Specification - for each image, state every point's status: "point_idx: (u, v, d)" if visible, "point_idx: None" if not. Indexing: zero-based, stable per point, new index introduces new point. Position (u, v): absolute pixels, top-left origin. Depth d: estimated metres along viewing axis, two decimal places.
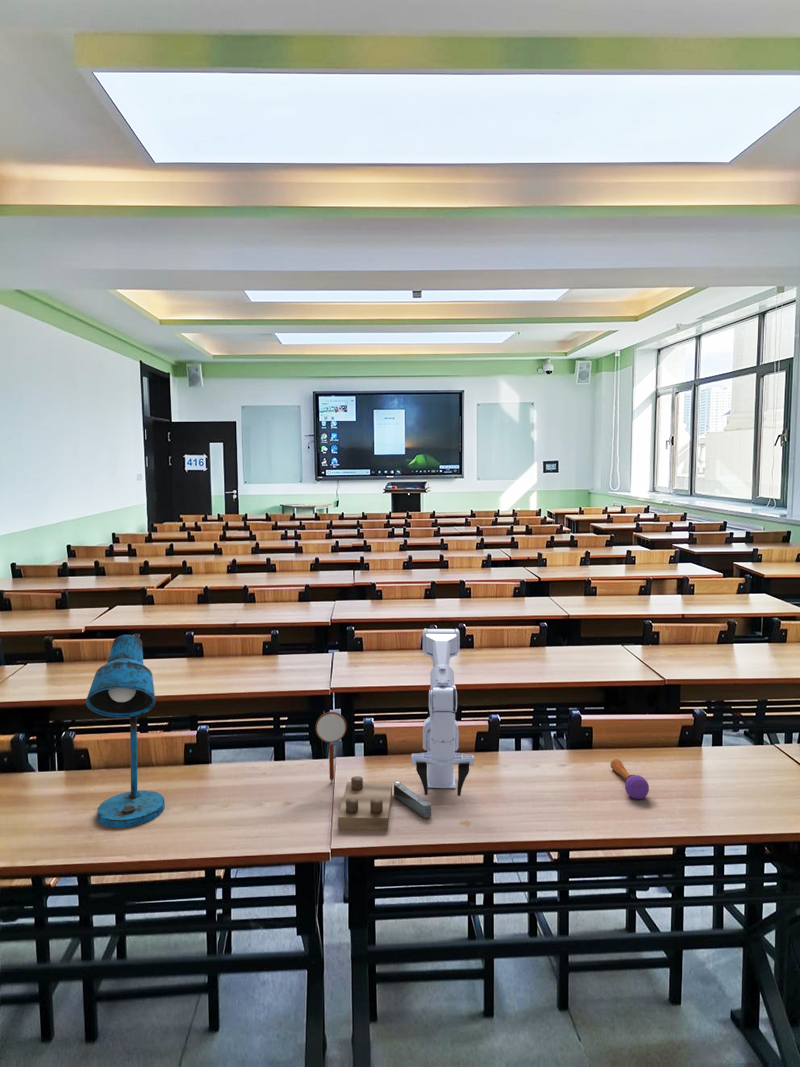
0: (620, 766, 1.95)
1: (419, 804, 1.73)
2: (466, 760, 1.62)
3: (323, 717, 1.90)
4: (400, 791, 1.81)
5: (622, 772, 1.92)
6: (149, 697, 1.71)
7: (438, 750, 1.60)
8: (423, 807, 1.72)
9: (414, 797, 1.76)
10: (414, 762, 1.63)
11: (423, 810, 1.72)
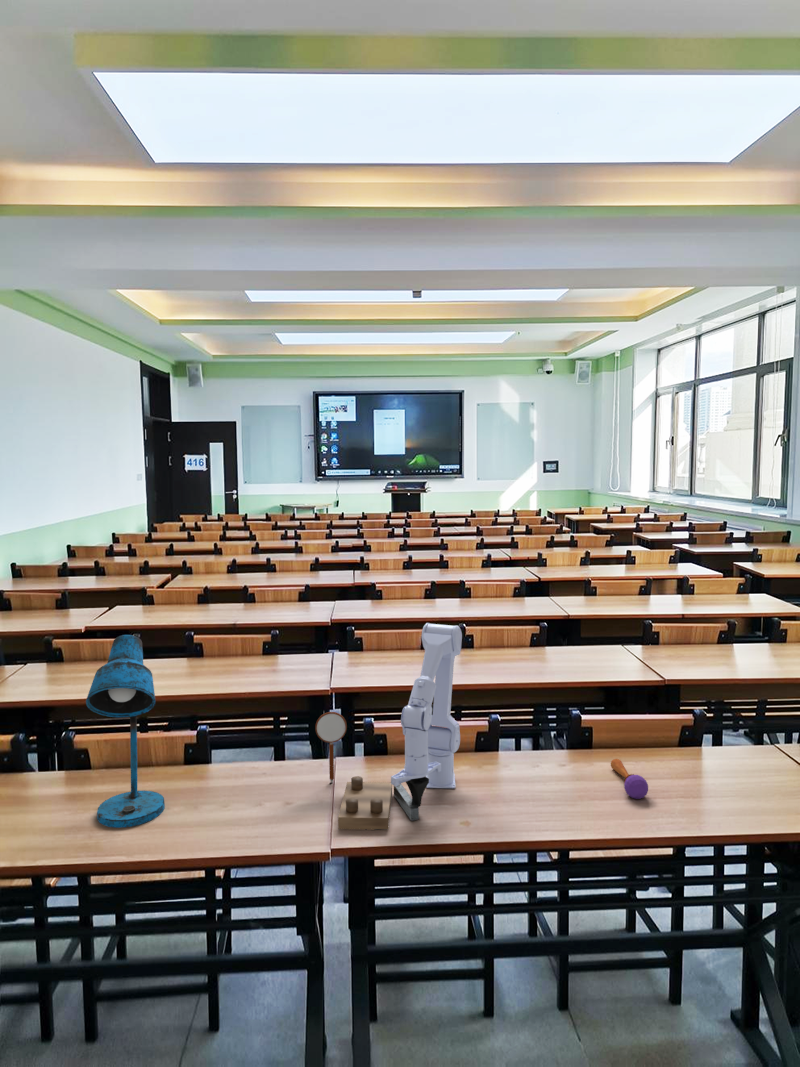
0: (620, 766, 1.95)
1: (408, 806, 1.72)
2: None
3: (323, 717, 1.90)
4: (397, 791, 1.81)
5: (622, 772, 1.92)
6: (149, 697, 1.71)
7: None
8: (410, 810, 1.70)
9: (406, 799, 1.75)
10: None
11: (410, 813, 1.71)
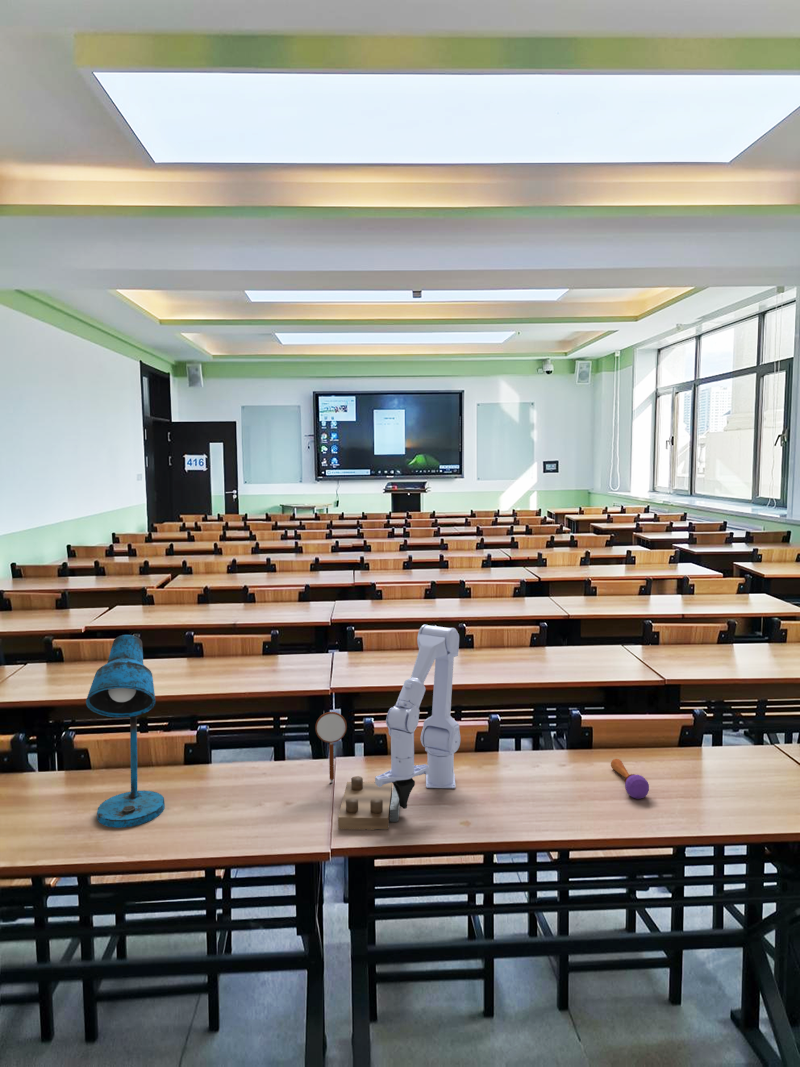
0: (620, 766, 1.95)
1: None
2: None
3: (323, 717, 1.90)
4: None
5: (622, 772, 1.93)
6: (149, 697, 1.71)
7: None
8: (390, 811, 1.70)
9: (393, 799, 1.75)
10: None
11: (390, 814, 1.71)
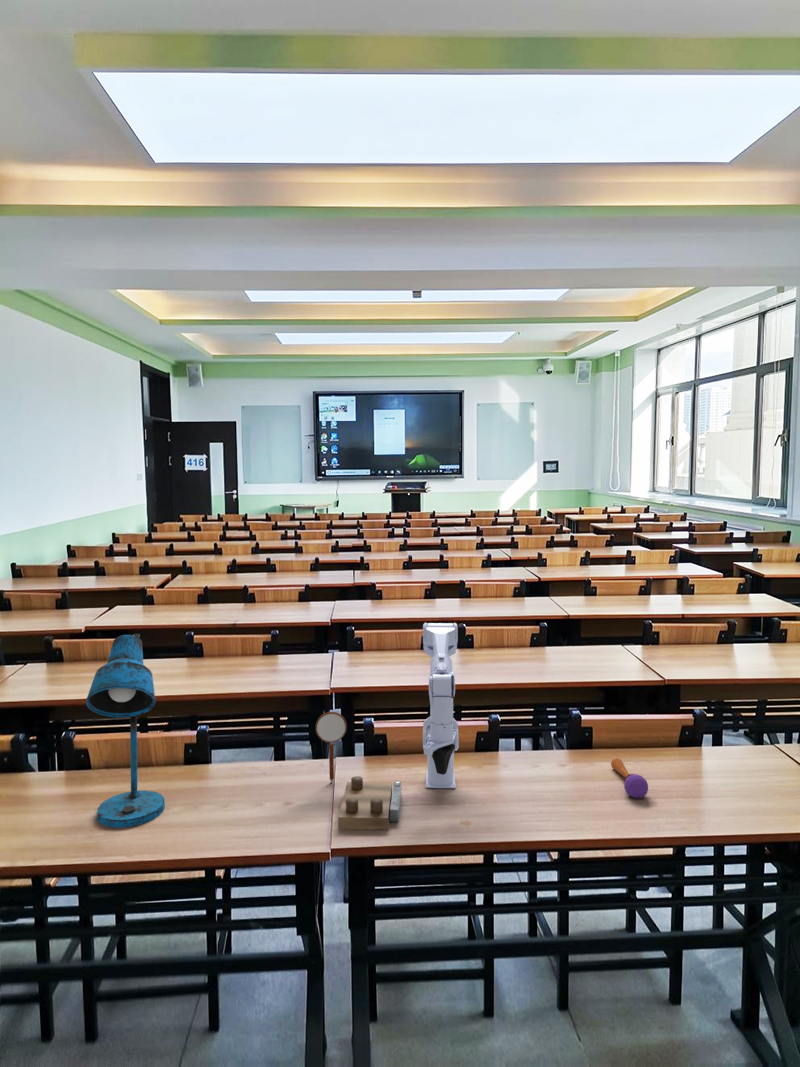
0: (620, 765, 1.96)
1: (390, 807, 1.72)
2: None
3: (323, 717, 1.90)
4: None
5: (622, 771, 1.93)
6: (149, 697, 1.71)
7: None
8: (390, 811, 1.70)
9: (393, 799, 1.75)
10: None
11: (390, 814, 1.71)
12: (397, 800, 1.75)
